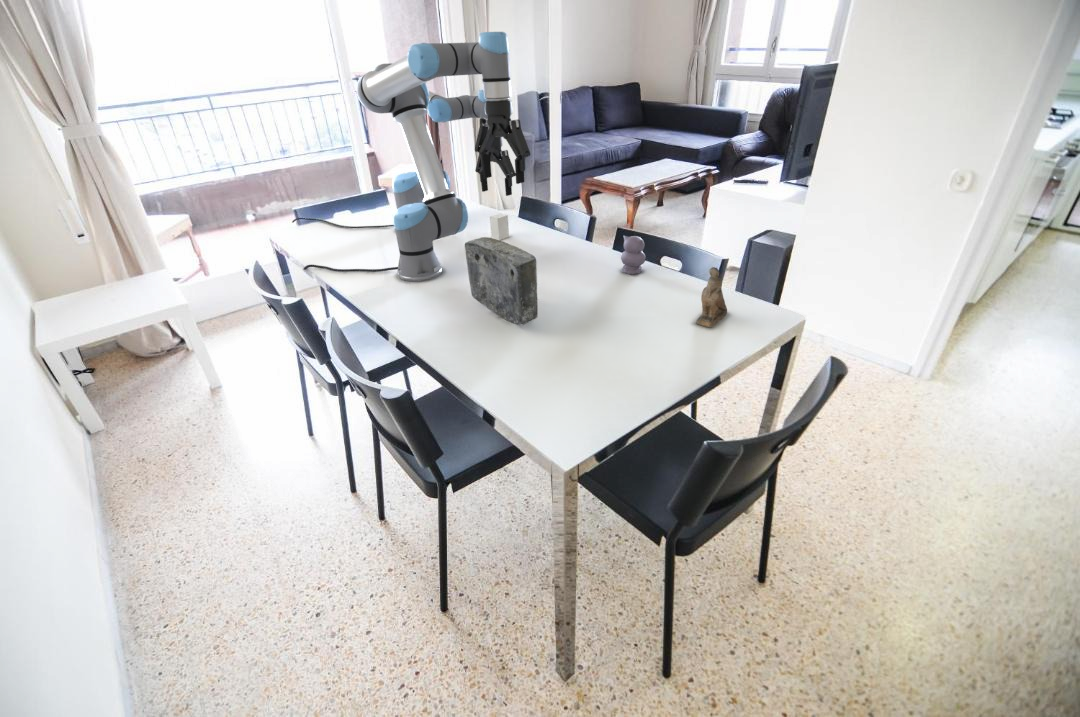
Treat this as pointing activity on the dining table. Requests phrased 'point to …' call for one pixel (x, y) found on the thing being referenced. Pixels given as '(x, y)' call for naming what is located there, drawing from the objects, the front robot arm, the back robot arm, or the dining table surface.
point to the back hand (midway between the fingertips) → (496, 193)
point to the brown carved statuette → (712, 301)
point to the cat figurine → (633, 254)
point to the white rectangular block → (499, 226)
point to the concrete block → (503, 279)
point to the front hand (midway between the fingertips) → (503, 180)
